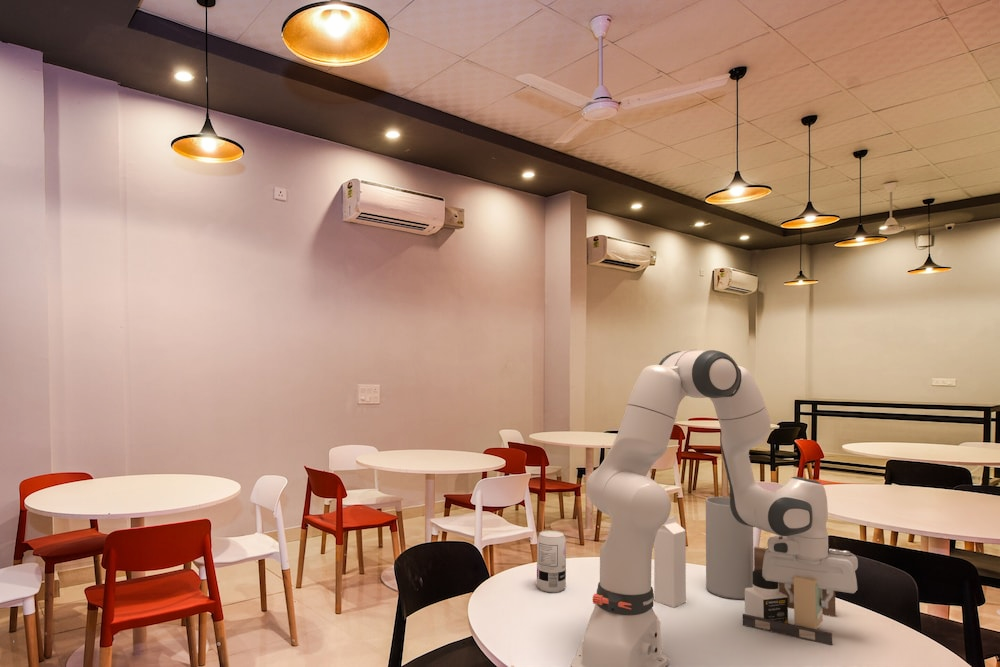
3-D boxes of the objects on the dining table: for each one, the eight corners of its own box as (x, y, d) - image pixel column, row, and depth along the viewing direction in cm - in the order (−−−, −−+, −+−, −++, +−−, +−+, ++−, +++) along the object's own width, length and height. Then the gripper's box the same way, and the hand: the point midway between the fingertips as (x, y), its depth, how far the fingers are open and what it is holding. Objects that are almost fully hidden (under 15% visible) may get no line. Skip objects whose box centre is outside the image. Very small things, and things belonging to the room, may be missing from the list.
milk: (685, 602, 157) (686, 518, 159) (673, 608, 153) (674, 521, 155) (665, 595, 162) (666, 514, 163) (653, 601, 158) (654, 517, 159)
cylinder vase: (757, 602, 158) (756, 507, 160) (708, 597, 161) (707, 504, 163) (750, 586, 170) (749, 498, 172) (704, 581, 173) (704, 495, 175)
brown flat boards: (832, 645, 133) (830, 582, 134) (742, 625, 143) (741, 566, 144) (835, 615, 150) (834, 559, 151) (755, 599, 160) (754, 546, 161)
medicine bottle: (764, 628, 142) (763, 577, 142) (744, 616, 148) (743, 568, 149) (788, 625, 143) (788, 575, 144) (768, 614, 150) (767, 566, 151)
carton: (823, 621, 142) (822, 574, 143) (816, 630, 136) (815, 581, 137) (802, 615, 145) (801, 569, 146) (794, 624, 140) (793, 576, 140)
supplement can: (531, 585, 168) (532, 531, 169) (556, 581, 171) (557, 528, 172) (545, 594, 161) (546, 538, 162) (571, 590, 164) (571, 535, 165)
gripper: (855, 548, 140) (857, 608, 139) (762, 537, 149) (762, 593, 148) (859, 555, 135) (860, 617, 134) (761, 543, 143) (762, 601, 142)
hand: (808, 604), depth 141 cm, fingers closed on carton, 5 cm apart
